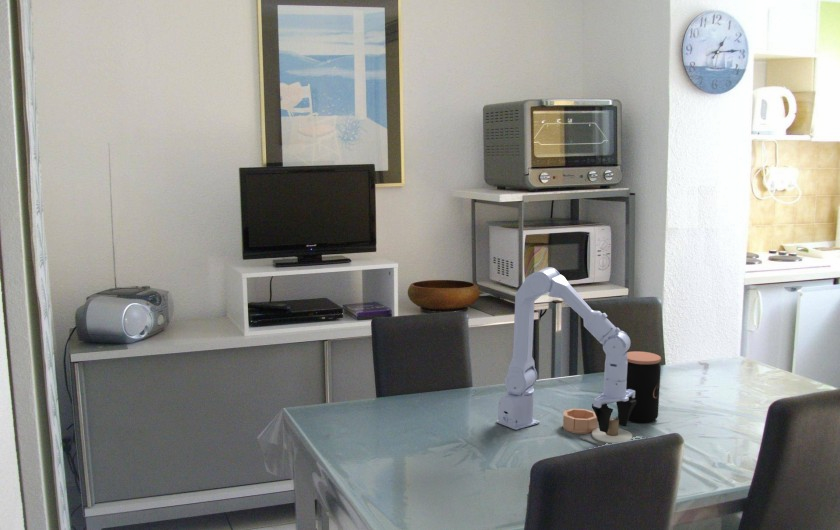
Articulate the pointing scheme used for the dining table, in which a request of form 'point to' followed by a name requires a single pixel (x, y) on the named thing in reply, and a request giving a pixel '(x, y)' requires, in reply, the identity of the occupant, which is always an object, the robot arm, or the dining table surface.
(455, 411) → the dining table surface
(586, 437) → the mat
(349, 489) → the dining table surface
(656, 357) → the coffee jar
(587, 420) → the bowl
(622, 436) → the lid
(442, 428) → the dining table surface
